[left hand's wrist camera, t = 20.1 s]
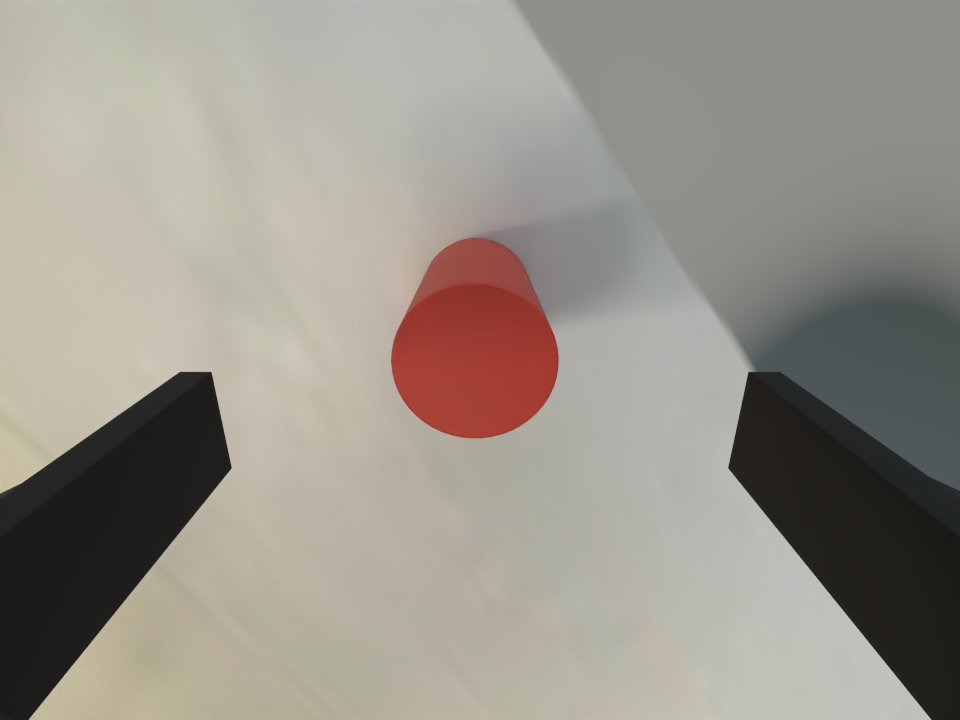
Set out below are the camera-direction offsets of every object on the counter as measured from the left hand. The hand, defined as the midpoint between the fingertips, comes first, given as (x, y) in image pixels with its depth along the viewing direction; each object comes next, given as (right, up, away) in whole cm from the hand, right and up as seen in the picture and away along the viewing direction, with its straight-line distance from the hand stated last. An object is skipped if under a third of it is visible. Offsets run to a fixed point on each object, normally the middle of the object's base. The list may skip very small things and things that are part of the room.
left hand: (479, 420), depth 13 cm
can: (0, +5, +13) cm, 14 cm away
